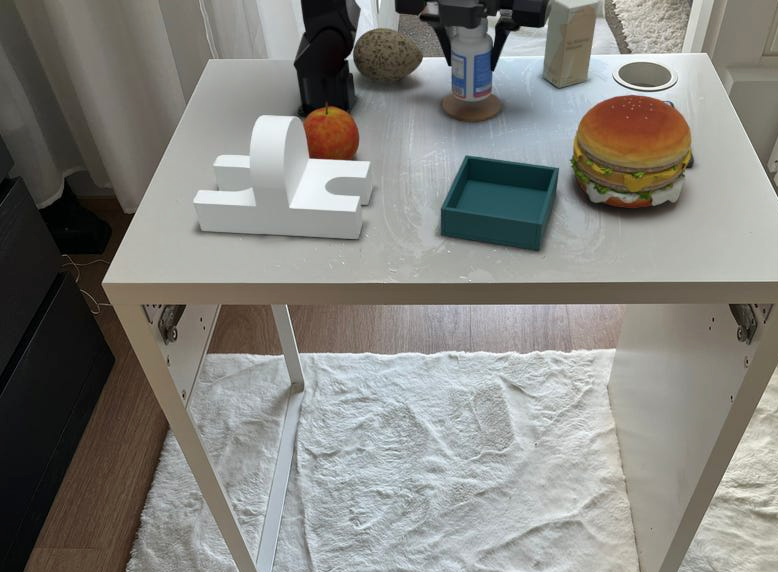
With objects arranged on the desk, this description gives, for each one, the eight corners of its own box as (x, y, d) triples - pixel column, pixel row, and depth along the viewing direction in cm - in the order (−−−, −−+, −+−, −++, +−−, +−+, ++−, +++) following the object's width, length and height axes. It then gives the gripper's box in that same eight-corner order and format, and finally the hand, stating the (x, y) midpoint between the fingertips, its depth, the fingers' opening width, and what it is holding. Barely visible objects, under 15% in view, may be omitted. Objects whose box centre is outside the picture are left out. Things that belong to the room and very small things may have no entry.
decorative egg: (344, 28, 104) (415, 30, 102) (361, 25, 110) (429, 27, 108) (346, 84, 107) (415, 87, 105) (363, 78, 113) (428, 81, 111)
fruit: (352, 181, 92) (345, 121, 87) (297, 175, 94) (287, 115, 88) (368, 151, 97) (363, 91, 91) (315, 145, 98) (307, 86, 92)
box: (558, 89, 107) (566, 8, 99) (541, 76, 110) (548, -4, 102) (589, 80, 109) (600, 0, 101) (571, 68, 112) (581, -11, 104)
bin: (440, 235, 85) (440, 208, 82) (465, 180, 92) (465, 154, 90) (539, 250, 83) (542, 224, 80) (556, 193, 90) (559, 167, 87)
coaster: (435, 117, 103) (435, 114, 102) (450, 89, 108) (450, 86, 108) (493, 125, 101) (494, 122, 101) (506, 96, 106) (506, 93, 106)
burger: (614, 139, 97) (627, 64, 90) (707, 183, 91) (729, 106, 83) (544, 184, 91) (552, 107, 84) (638, 235, 84) (656, 156, 77)
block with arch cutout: (372, 189, 91) (365, 102, 83) (358, 239, 85) (348, 150, 77) (225, 181, 93) (204, 95, 85) (200, 230, 86) (174, 142, 78)
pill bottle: (492, 84, 105) (495, 11, 98) (490, 103, 101) (494, 29, 94) (452, 82, 105) (452, 10, 98) (449, 102, 101) (449, 28, 94)
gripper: (376, -45, 86) (384, 88, 97) (542, -30, 82) (530, 106, 93) (405, -77, 93) (410, 49, 104) (559, -65, 89) (546, 65, 101)
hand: (471, 67), depth 100 cm, fingers closed on pill bottle, 5 cm apart
